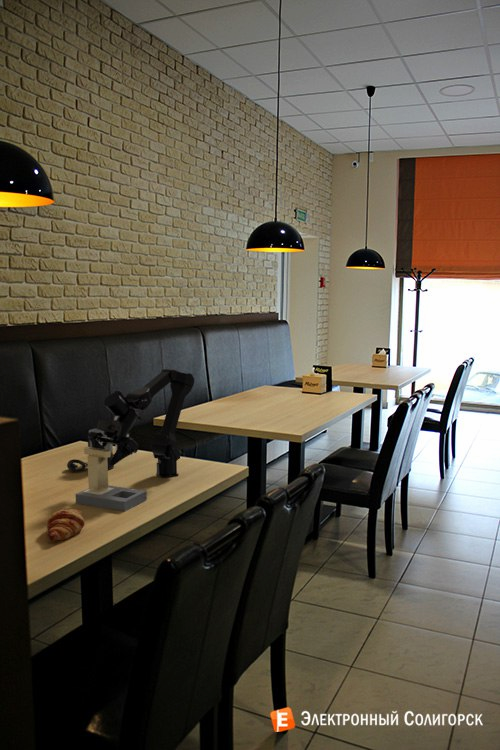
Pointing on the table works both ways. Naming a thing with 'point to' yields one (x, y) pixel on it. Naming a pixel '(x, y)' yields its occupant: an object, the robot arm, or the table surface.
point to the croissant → (64, 524)
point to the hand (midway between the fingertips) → (100, 463)
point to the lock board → (112, 498)
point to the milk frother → (75, 467)
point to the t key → (97, 468)
